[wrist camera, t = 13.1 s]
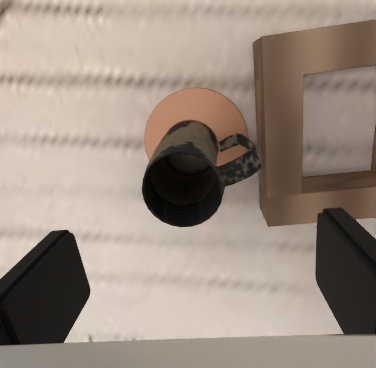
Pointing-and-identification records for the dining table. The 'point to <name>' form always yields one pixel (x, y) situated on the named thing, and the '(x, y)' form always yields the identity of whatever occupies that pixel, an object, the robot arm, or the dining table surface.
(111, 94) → the dining table surface
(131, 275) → the dining table surface
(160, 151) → the mug
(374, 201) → the frame
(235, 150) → the peach smooth round part
